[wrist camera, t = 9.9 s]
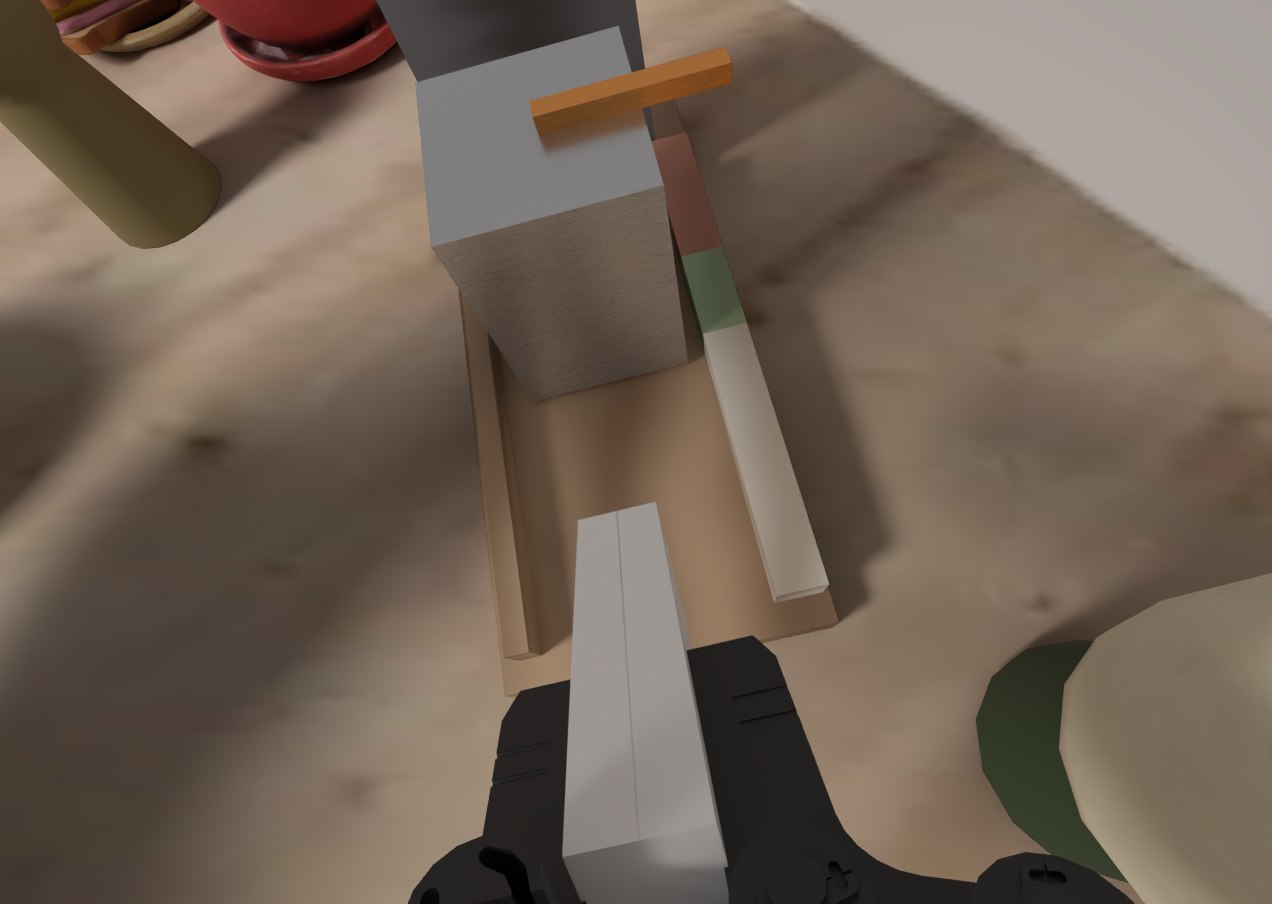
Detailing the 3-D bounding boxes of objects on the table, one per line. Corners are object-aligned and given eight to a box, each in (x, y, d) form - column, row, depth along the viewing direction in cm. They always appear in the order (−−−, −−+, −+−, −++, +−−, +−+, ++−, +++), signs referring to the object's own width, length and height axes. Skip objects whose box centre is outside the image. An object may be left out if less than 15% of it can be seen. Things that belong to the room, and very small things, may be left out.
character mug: (1158, 1020, 17) (2117, 1733, 5) (895, 860, 19) (1155, 1111, 7) (1259, 646, 20) (2040, 557, 8) (1019, 541, 22) (1354, 345, 10)
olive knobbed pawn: (238, 157, 35) (32, -70, 24) (193, 251, 33) (-51, 45, 22) (143, 155, 36) (-91, -62, 26) (95, 246, 34) (-181, 48, 24)
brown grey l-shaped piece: (519, 696, 23) (327, 689, 12) (456, 181, 32) (316, -82, 21) (832, 627, 22) (923, 554, 11) (676, 121, 31) (645, -181, 20)
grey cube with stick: (534, 401, 25) (420, 231, 16) (508, 237, 28) (400, 16, 19) (751, 347, 24) (760, 140, 15) (700, 186, 27) (684, -65, 18)
